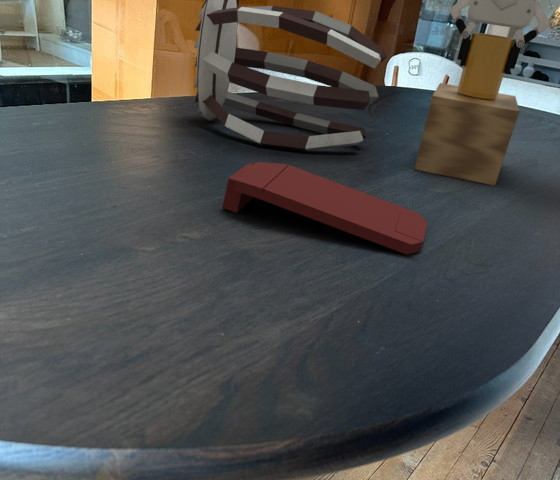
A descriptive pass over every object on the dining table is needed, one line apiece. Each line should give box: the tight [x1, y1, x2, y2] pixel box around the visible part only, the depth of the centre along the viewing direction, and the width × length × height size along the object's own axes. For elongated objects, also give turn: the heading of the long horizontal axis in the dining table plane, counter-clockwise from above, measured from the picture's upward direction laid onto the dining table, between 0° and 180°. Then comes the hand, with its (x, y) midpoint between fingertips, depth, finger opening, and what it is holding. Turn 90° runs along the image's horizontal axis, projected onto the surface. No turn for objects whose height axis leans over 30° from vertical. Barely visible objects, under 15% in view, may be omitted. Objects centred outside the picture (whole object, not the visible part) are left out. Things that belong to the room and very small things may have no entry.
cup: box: [457, 32, 515, 99], centre depth 100 cm, size 7×7×9 cm
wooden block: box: [414, 82, 520, 187], centre depth 106 cm, size 14×18×12 cm
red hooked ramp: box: [221, 161, 428, 255], centre depth 76 cm, size 12×5×25 cm
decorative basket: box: [193, 0, 388, 152], centre depth 105 cm, size 24×27×35 cm
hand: (484, 68), depth 100 cm, fingers closed on cup, 6 cm apart
